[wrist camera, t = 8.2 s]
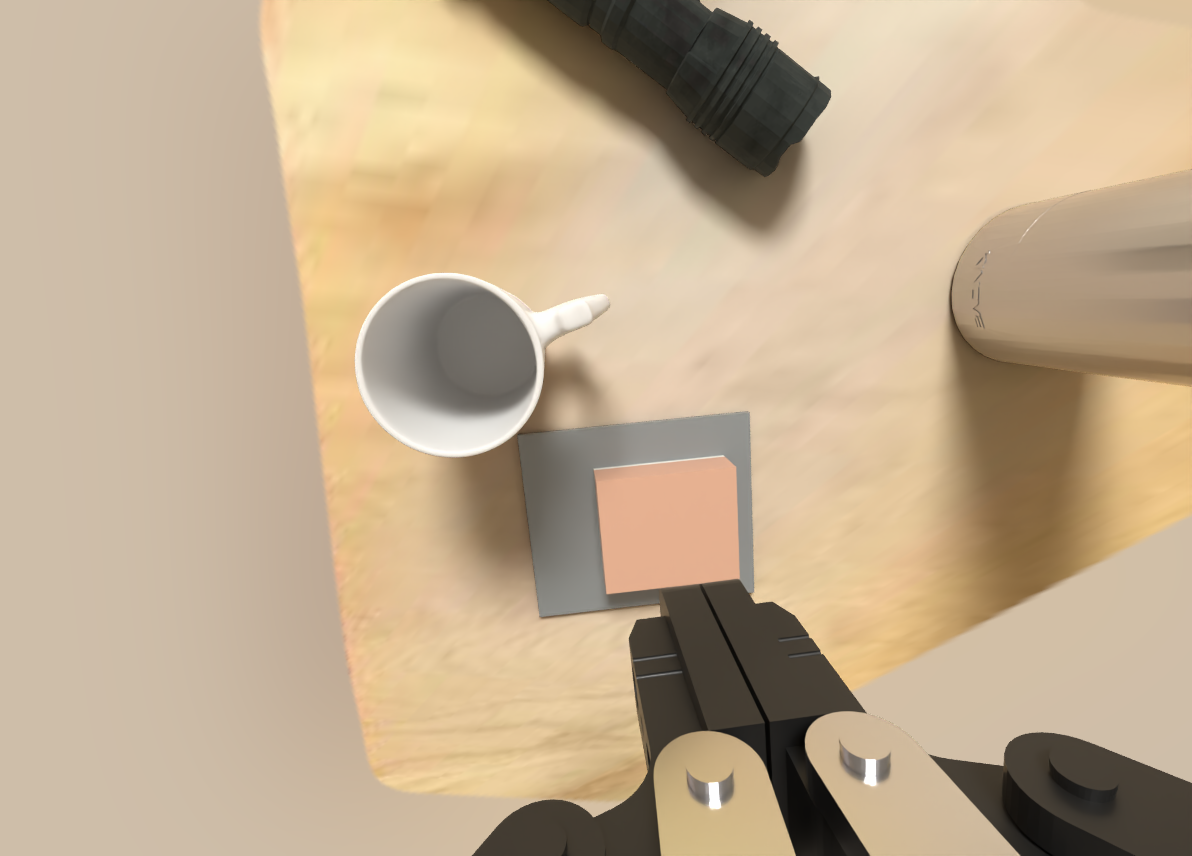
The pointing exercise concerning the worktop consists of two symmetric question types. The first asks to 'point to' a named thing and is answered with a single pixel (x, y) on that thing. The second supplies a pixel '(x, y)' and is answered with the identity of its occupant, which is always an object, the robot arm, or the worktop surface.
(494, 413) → the mug
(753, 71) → the flashlight
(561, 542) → the mat
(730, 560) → the tile
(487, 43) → the worktop surface
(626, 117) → the worktop surface
